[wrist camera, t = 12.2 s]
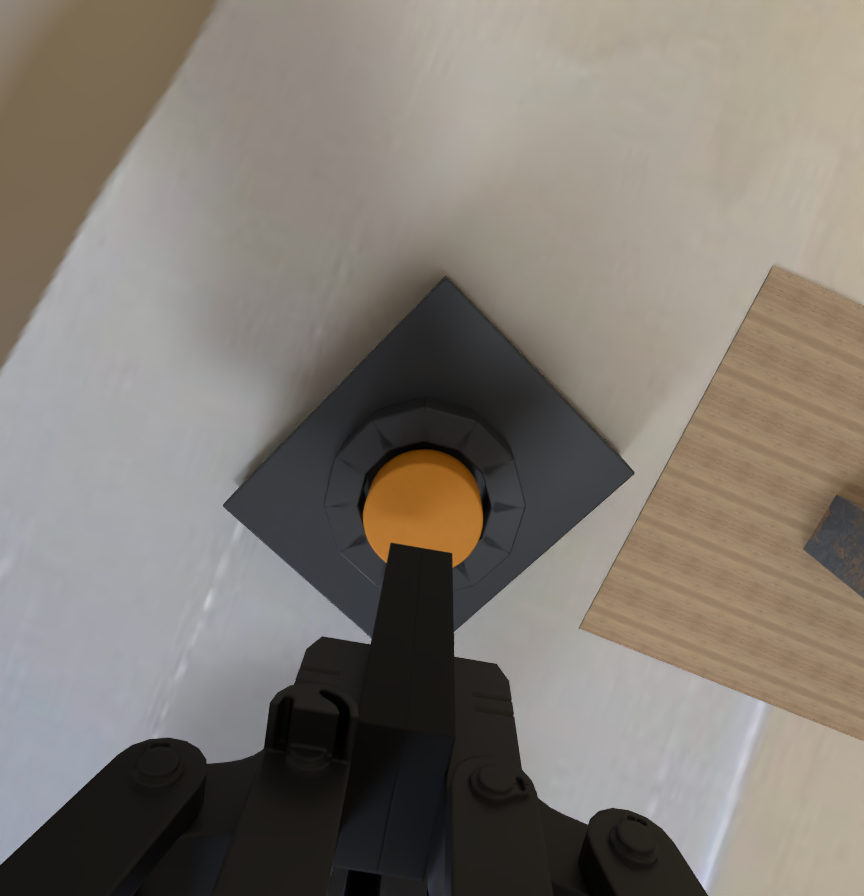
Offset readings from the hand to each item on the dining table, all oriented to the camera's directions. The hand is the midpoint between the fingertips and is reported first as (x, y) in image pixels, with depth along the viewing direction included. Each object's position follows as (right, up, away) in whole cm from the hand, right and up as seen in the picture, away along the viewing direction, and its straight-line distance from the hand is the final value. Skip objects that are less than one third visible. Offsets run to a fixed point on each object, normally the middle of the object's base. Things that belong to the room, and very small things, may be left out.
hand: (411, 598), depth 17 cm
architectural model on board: (+21, -2, +12) cm, 25 cm away
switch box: (0, +3, +11) cm, 12 cm away
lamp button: (0, +2, +8) cm, 8 cm away
